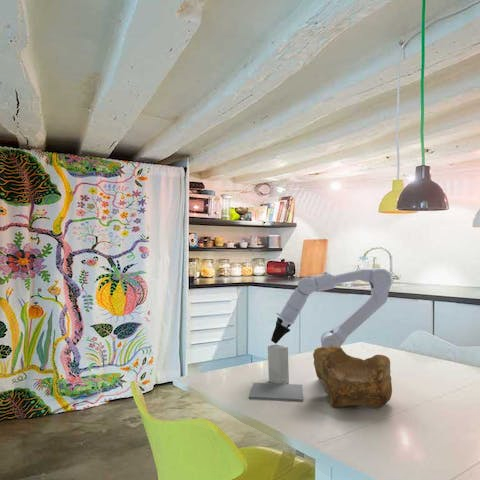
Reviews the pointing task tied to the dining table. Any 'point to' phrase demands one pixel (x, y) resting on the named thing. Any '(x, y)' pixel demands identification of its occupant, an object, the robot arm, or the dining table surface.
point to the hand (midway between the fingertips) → (274, 339)
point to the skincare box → (278, 364)
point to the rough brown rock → (353, 378)
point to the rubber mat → (276, 391)
